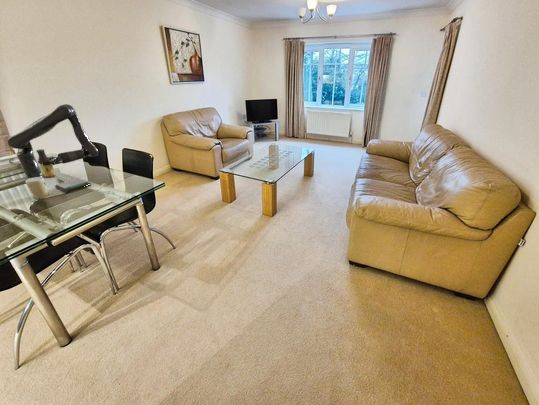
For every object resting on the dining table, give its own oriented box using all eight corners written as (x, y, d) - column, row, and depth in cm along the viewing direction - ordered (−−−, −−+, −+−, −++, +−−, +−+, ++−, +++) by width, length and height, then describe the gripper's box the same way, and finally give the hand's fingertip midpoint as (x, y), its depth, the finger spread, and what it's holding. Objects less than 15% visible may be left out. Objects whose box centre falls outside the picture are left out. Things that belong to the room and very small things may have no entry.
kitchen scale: (55, 188, 179) (54, 184, 178) (80, 181, 192) (78, 177, 190) (66, 193, 172) (65, 189, 171) (91, 185, 185) (90, 181, 183)
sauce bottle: (50, 179, 176) (38, 151, 166) (43, 178, 177) (30, 151, 168) (59, 175, 181) (47, 148, 172) (52, 175, 183) (40, 148, 173)
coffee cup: (53, 194, 171) (46, 177, 166) (38, 199, 164) (30, 182, 158) (44, 191, 174) (37, 175, 168) (29, 197, 166) (21, 180, 161)
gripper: (61, 150, 186) (33, 156, 174) (71, 153, 180) (43, 160, 167) (64, 160, 190) (38, 166, 177) (74, 163, 183) (47, 170, 171)
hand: (40, 163), depth 172 cm, fingers closed on sauce bottle, 6 cm apart
